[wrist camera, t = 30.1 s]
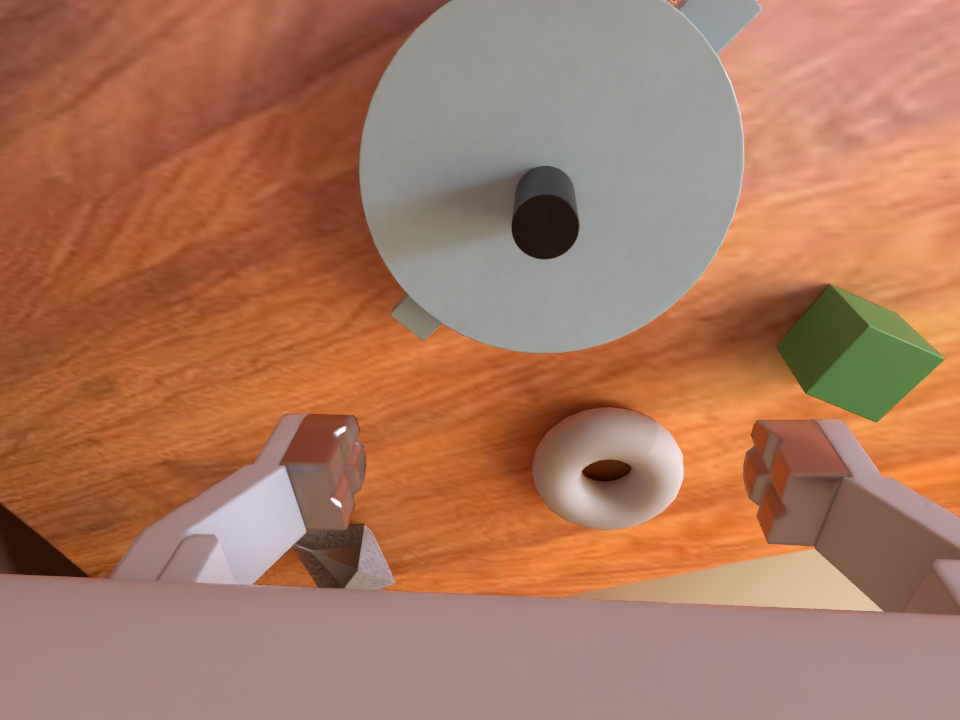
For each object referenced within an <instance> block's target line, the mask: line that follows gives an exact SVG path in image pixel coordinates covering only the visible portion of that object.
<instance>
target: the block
mask: <svg viewBox="0 0 960 720" xmlns="http://www.w3.org/2000/svg"><path fill="white" fill-rule="evenodd" d="M776 348H777V350H778V351H779V353H780V354H781V356H782V358H783V359H784V361H785V362H786V364H787V365H788V367H789V368H790V370H791V372H792V373H793V375H794V376H795V378H796V379H797V381H798V383H799V384H800V386H801V387H802V389H803V390H804V392H805V393H806V394H808V395H811V396H813V397H816V398H818V399H820V400H823V401H825V402H828V403H830V404H833V405H835V406H837V407H840V408H842V409H845V410H847V411H850V412H852V413H854V414H857V415H859V416H862V417H864V418H867V419H869V420H872V421H874V422H878V421H879V420H880V419H881V418H882V417H883V416H884V415H886V414H887V413H888V412H889V411H890V410H891V409H892V408H893V407H894V406H895V405H896V404H897V403H898V402H899V401H901V400H902V399H903V398H904V397H905V396H906V395H907V394H908V393H909V392H910V391H911V390H912V389H913V388H915V387H916V386H917V385H918V384H919V383H920V382H921V381H922V380H923V379H924V378H925V377H926V376H927V375H928V374H930V373H931V372H932V371H933V370H934V369H935V368H936V367H937V366H938V365H939V364H940V363H941V362H942V361H944V359H945V358H944V357H943V356H942V355H941V354H940V353H939V352H938V351H937V350H935V349H934V348H933V347H932V346H931V345H930V344H929V343H928V342H927V341H926V340H925V339H924V338H923V337H922V336H921V335H919V334H918V333H917V332H916V331H915V330H914V329H913V328H912V327H911V326H910V325H909V324H908V323H907V322H906V321H905V320H904V319H902V318H901V317H900V316H899V315H898V314H896V313H894V312H892V311H890V310H887V309H885V308H883V307H881V306H878V305H876V304H874V303H872V302H869V301H867V300H865V299H863V298H860V297H858V296H856V295H854V294H851V293H849V292H847V291H845V290H842V289H840V288H838V287H836V286H833V285H831V284H830V285H829V286H828V287H827V288H826V289H825V290H824V291H823V293H822V294H821V295H820V296H819V297H818V299H817V300H816V301H815V302H814V303H813V304H812V306H811V307H810V308H809V309H808V310H807V311H806V313H805V314H804V315H803V316H802V317H801V319H800V320H799V321H798V322H797V323H796V324H795V326H794V327H793V328H792V329H791V330H790V331H789V333H788V334H787V335H786V336H785V337H784V339H783V340H782V341H781V342H780V343H779V344H778V346H777V347H776Z"/></svg>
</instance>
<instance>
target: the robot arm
mask: <svg viewBox="0 0 960 720" xmlns="http://www.w3.org/2000/svg"><path fill="white" fill-rule="evenodd" d="M359 432H360V428H359V424H358V420H357V418H356V417H355V416H353V415H331V414H288V413H287V414H285V415H284V416H282V417H281V418H280V420H279V422H278V423H277V425H276V427H275V428H274V430H273V432H272V433H271V435H270V437H269V439H268V440H267V442H266V444H265V445H264V447H263V449H262V450H261V452H260V454H259V455H258V457H257V459H256V460H255V462H254V464H253V465H245V466H244V467H242V468H240V469H239V470H237V471H236V472H234V473H232V474H231V475H229V476H228V477H226V478H224V479H223V480H221V481H220V482H218V483H216V484H215V485H213V486H212V487H210V488H208V489H207V490H205V491H204V492H202V493H200V494H199V495H197V496H196V497H194V498H192V499H191V500H189V501H188V502H186V503H185V504H183V505H181V506H180V507H178V508H177V509H175V510H173V511H172V512H170V513H169V514H167V515H165V516H164V517H162V518H161V519H159V520H157V521H156V522H154V523H153V524H151V525H149V526H148V527H146V528H145V529H143V530H142V531H141V532H140V533H139V535H138V536H137V538H136V539H135V540H134V542H133V543H132V544H131V546H130V547H129V549H128V550H127V551H126V553H125V554H124V555H123V557H122V558H121V560H120V561H119V562H118V564H117V565H116V566H115V568H114V569H113V571H112V572H111V573H110V575H109V576H108V577H107V579H105V578H81V577H57V576H34V575H33V576H32V575H11V574H0V720H960V517H958V516H956V515H955V514H953V513H951V512H949V511H948V510H946V509H944V508H943V507H941V506H939V505H937V504H936V503H934V502H932V501H931V500H929V499H927V498H925V497H924V496H922V495H920V494H919V493H917V492H915V491H913V490H912V489H910V488H908V487H907V486H905V485H903V484H901V483H900V482H898V481H896V480H894V479H893V478H883V477H882V475H881V474H880V472H879V471H878V469H877V468H876V467H875V465H874V464H873V462H872V461H871V459H870V458H869V457H868V455H867V454H866V452H865V451H864V450H863V448H862V447H861V445H860V444H859V442H858V441H857V440H856V438H855V437H854V435H853V434H852V432H851V431H850V430H849V428H848V427H847V425H846V424H845V423H844V422H843V421H841V420H840V419H811V420H757V421H756V423H755V424H754V426H753V429H752V433H751V437H752V439H753V441H754V444H755V446H753V447H752V448H751V449H750V450H748V451H747V452H746V456H745V460H744V465H743V476H744V483H745V488H746V491H747V493H748V496H749V499H751V500H752V501H753V502H755V503H756V504H757V505H759V506H760V507H759V510H758V513H757V518H758V521H759V523H760V526H761V528H762V530H763V533H764V535H765V538H766V540H767V542H768V544H782V545H800V546H815V549H816V550H817V551H818V552H819V553H820V554H821V555H823V556H824V557H825V558H826V559H827V560H828V561H829V562H830V563H831V564H832V565H834V566H835V567H836V568H837V569H838V570H839V571H840V572H841V573H842V574H843V575H844V576H846V577H847V578H848V579H849V580H850V581H851V582H852V583H853V584H854V585H856V586H857V587H858V588H859V589H860V590H861V591H862V592H863V593H864V594H865V595H866V596H868V597H869V598H870V599H871V600H872V601H873V602H874V603H875V604H877V605H878V607H880V608H881V609H882V610H883V611H884V612H876V611H875V612H874V611H852V610H829V609H804V608H779V607H755V606H734V605H711V604H710V605H709V604H687V603H686V604H685V603H666V602H643V601H620V600H596V599H573V598H549V597H526V596H502V595H478V594H455V593H431V592H408V591H385V590H361V589H338V588H314V587H291V586H267V585H252V584H253V583H254V582H255V581H256V580H257V579H258V578H259V577H260V576H262V575H263V574H264V573H265V572H266V571H267V570H268V569H269V568H270V567H271V566H272V565H273V564H274V563H275V562H276V561H277V560H278V559H279V558H280V557H281V556H282V555H284V554H285V553H286V552H287V551H288V550H289V549H290V548H291V547H292V546H293V545H294V544H295V543H296V542H297V541H298V540H299V539H300V538H301V537H302V536H303V535H304V534H306V533H307V531H306V530H347V527H348V525H349V522H350V519H351V516H352V513H353V511H354V508H355V502H354V498H353V495H354V494H356V493H357V492H358V491H359V490H361V488H362V485H363V482H364V478H365V470H366V455H365V450H364V446H363V445H362V444H361V443H360V442H359V441H358V440H356V439H357V437H358V434H359Z"/></svg>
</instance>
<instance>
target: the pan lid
mask: <svg viewBox="0 0 960 720" xmlns="http://www.w3.org/2000/svg"><path fill="white" fill-rule="evenodd" d="M743 168H744V135H743V128H742V122H741V115H740V109H739V106H738V103H737V100H736V96H735V93H734V90H733V86H732V83H731V81H730V79H729V77H728V75H727V73H726V71H725V69H724V67H723V65H722V62H721V60H720V58H719V57H718V55H717V54H716V52H715V51H714V50H713V48H712V47H711V45H710V44H709V42H708V41H707V39H706V38H705V36H704V35H703V34H702V33H701V32H700V31H699V30H698V29H697V28H696V27H695V25H694V24H693V23H692V22H691V21H690V20H689V19H688V18H687V17H686V16H685V15H684V14H683V13H682V12H680V11H679V10H678V9H676V8H675V7H674V6H673V5H671V4H670V3H669V2H667V1H666V0H450V1H449V2H447V3H446V4H444V5H443V6H441V7H440V8H438V9H437V10H436V11H434V12H433V13H432V14H431V15H430V16H429V17H428V18H427V19H426V20H425V21H424V22H422V23H421V24H420V25H419V26H418V27H417V28H416V29H415V30H414V31H413V32H412V33H411V35H410V36H409V37H408V38H407V39H406V41H405V42H404V43H403V44H402V45H401V47H400V48H399V49H398V50H397V52H396V53H395V55H394V56H393V58H392V60H391V61H390V63H389V64H388V66H387V68H386V69H385V71H384V73H383V74H382V76H381V78H380V80H379V83H378V85H377V87H376V89H375V92H374V94H373V96H372V99H371V101H370V104H369V108H368V111H367V115H366V118H365V122H364V125H363V131H362V138H361V144H360V151H359V182H360V191H361V200H362V205H363V209H364V213H365V217H366V222H367V225H368V227H369V230H370V233H371V236H372V238H373V241H374V244H375V246H376V248H377V250H378V252H379V254H380V255H381V257H382V259H383V261H384V263H385V265H386V266H387V268H388V269H389V271H390V272H391V274H392V275H393V277H394V278H395V280H396V281H397V282H398V284H399V285H400V286H401V287H402V288H403V289H404V291H405V292H406V293H407V294H408V295H409V296H410V297H411V299H412V300H414V301H415V302H416V303H417V304H418V305H419V306H420V307H421V308H422V309H424V310H425V311H426V312H427V313H428V314H429V315H431V316H432V317H434V318H435V319H437V320H438V321H439V322H441V323H442V324H444V325H445V326H447V327H449V328H451V329H452V330H454V331H456V332H458V333H460V334H461V335H463V336H466V337H468V338H471V339H473V340H476V341H478V342H480V343H483V344H487V345H490V346H494V347H497V348H501V349H506V350H512V351H518V352H526V353H562V352H570V351H576V350H582V349H587V348H591V347H594V346H598V345H602V344H605V343H608V342H611V341H613V340H616V339H618V338H621V337H623V336H626V335H628V334H630V333H631V332H633V331H635V330H637V329H639V328H641V327H643V326H645V325H646V324H648V323H649V322H651V321H652V320H654V319H655V318H657V317H658V316H660V315H661V314H662V313H664V312H665V311H667V310H668V309H669V308H670V307H671V306H672V305H673V304H675V303H676V302H677V301H678V300H679V299H680V298H682V297H683V296H684V295H685V293H686V292H687V291H688V290H689V289H690V288H691V287H692V286H693V285H694V284H695V283H696V281H697V280H698V279H699V278H700V277H701V275H702V274H703V272H704V271H705V270H706V268H707V267H708V265H709V264H710V263H711V261H712V260H713V258H714V256H715V255H716V253H717V251H718V249H719V247H720V246H721V244H722V242H723V240H724V238H725V236H726V234H727V231H728V229H729V226H730V224H731V221H732V219H733V216H734V214H735V210H736V206H737V202H738V198H739V195H740V191H741V184H742V176H743Z"/></svg>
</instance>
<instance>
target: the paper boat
mask: <svg viewBox="0 0 960 720" xmlns="http://www.w3.org/2000/svg"><path fill="white" fill-rule="evenodd" d="M292 547H293V549H294V550H295V552H296V553H297V555H298V557H299V558H300V560H301V561H302V563H303V564H304V566H305V567H306V569H307V571H308V572H309V574H310V575H311V577H312V578H313V580H314V581H315V583H316V585H317V586H318V588H338V589H361V590H380V589H383V588H385V587H387V586H390V585H392V584H395V581H394V578H393V576H392V574H391V572H390V569H389V567H388V565H387V563H386V561H385V558H384V556H383V554H382V552H381V549H380V547H379V545H378V543H377V541H376V538H375V536H374V534H373V532H372V531H371V530H370V529H369V528H368V527H367V526H366V525H365V524H364V525H356V526H348V527H347V530H316V531H308V532H307V533H306V534H304V535H303V536H302V537H301V538H300V539H299V540H298V541H297V542H296V543H295V544H294V545H293V546H292Z"/></svg>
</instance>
